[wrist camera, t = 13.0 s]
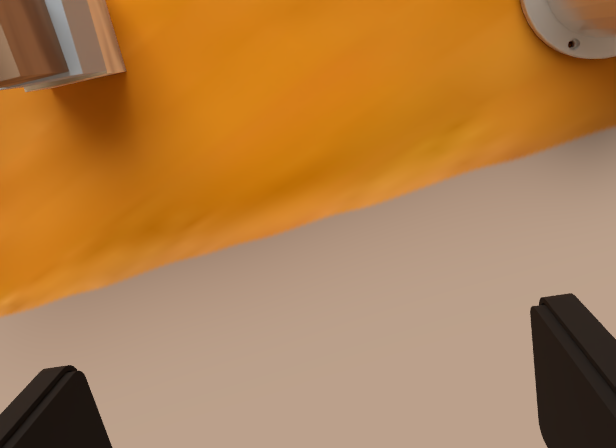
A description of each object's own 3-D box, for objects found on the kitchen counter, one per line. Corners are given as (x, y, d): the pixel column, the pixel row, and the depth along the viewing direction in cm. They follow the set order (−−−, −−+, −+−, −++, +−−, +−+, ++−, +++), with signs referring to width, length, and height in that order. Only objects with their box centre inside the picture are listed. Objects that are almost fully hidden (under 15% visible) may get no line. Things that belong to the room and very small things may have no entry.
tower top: (79, -27, 39) (51, -35, 35) (106, 71, 41) (83, 73, 37) (-8, -8, 40) (-45, -14, 36) (23, 87, 42) (-8, 91, 38)
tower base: (100, -17, 43) (77, -24, 39) (127, 71, 45) (107, 73, 41) (22, 2, 44) (-9, -2, 40) (51, 88, 46) (25, 92, 42)
